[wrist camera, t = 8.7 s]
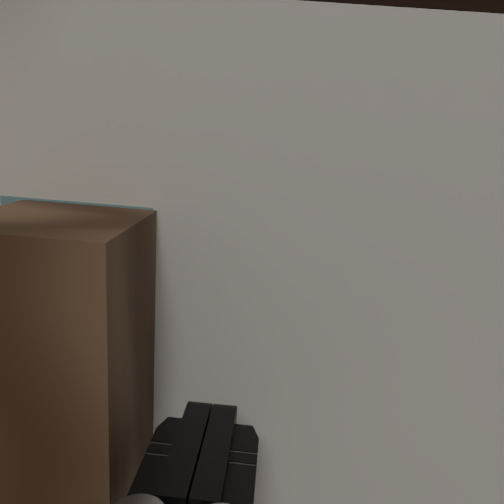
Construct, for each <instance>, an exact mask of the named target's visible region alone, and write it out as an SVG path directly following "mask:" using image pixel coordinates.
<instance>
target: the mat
mask: <svg viewBox="0 0 504 504" xmlns="http://www.w3.org/2000/svg"><path fill="white" fill-rule="evenodd" d="M20 200H34V201H46V202H59V203H71V204H83V205H96V206H108V207H120V208H132V209H145V210H156V277H155V343H154V410H153V434H154V432H155V429H156V427H157V426H159V425H160V424H161V423H162V422H163V421H164V420H165V419H166V418H167V417H176V418H182V416H183V414H184V411H185V408H186V405H187V403H188V401H193V402H203V403H212V404H223V405H232V406H237V423H236V424H242V425H251V426H253V427H254V429H255V431H256V433H257V435H258V438H259V444H258V456H257V468H256V480H255V492H254V504H504V14H496V13H481V12H466V11H450V10H435V9H420V8H405V7H390V6H374V5H359V4H344V3H329V2H314V1H299V0H0V206H1V205H4V204H8V203H12V202H16V201H20Z"/></svg>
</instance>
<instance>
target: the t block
mask: <svg viewBox="0 0 504 504" xmlns="http://www.w3.org/2000/svg"><path fill="white" fill-rule="evenodd" d="M155 277H156V210H145V209H132V208H120V207H108V206H96V205H83V204H71V203H59V202H46V201H34V200H20V201H16V202H12V203H8V204H4V205H1V206H0V504H115V503H116V502H117V501H119V500H121V499H122V498H124V497H126V496H127V494H128V492H129V489H130V487H131V485H132V483H133V480H134V478H135V476H136V473H137V471H138V469H139V466H140V464H141V462H142V459H143V457H144V455H145V454H146V450H147V448H148V446H149V443H150V442H151V439H152V436H153V410H154V343H155Z"/></svg>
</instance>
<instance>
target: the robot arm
mask: <svg viewBox="0 0 504 504" xmlns="http://www.w3.org/2000/svg"><path fill="white" fill-rule="evenodd" d="M236 423H237V406H232V405H223V404H212V403H203V402H193V401H188V403H187V405H186V408H185V411H184V414H183V416H182V418H176V417H167V418H166V419H165V420H164V421H163V422H162V423H161V424H160V425H159V426H157V427H156V429H155V432H154V434H153V436H152V439H151V442H150V443H149V446H148V448H147V450H146V454H145V455H144V457H143V459H142V462H141V464H140V466H139V469H138V471H137V473H136V476H135V478H134V480H133V483H132V485H131V487H130V489H129V492H128V494H127V496H126V497H124V498H122V499H121V500H119V501H117V502H116V503H115V504H254V492H255V480H256V468H257V456H258V444H259V438H258V435H257V433H256V431H255V429H254V427H253V426H251V425H242V424H236Z"/></svg>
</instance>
